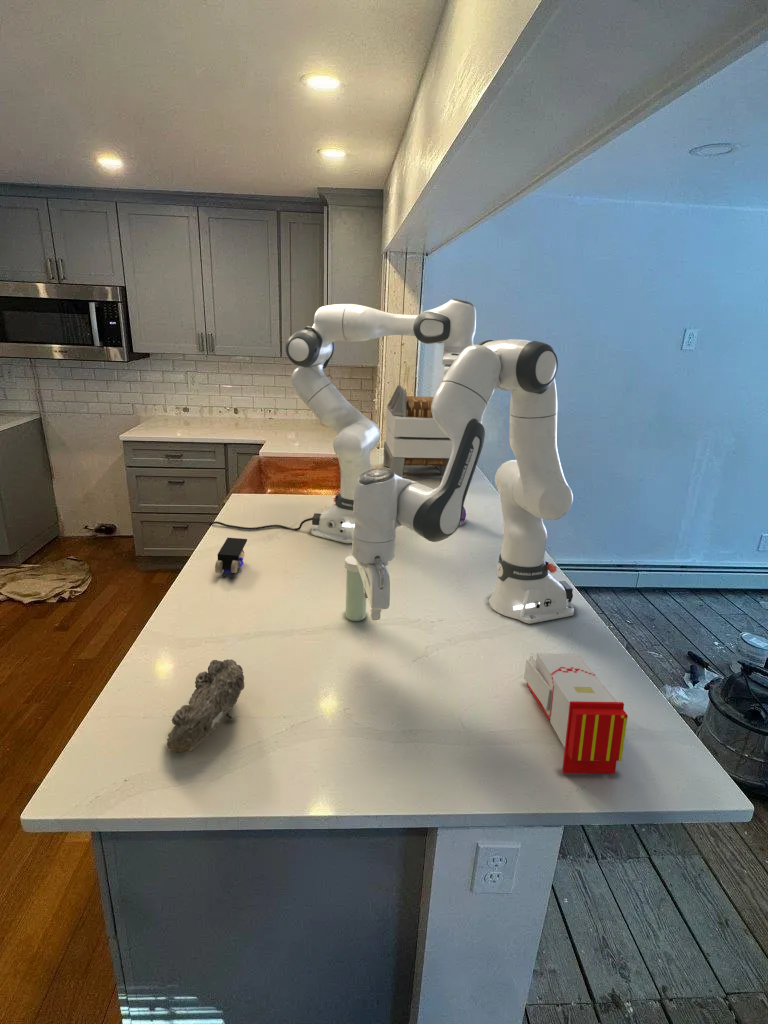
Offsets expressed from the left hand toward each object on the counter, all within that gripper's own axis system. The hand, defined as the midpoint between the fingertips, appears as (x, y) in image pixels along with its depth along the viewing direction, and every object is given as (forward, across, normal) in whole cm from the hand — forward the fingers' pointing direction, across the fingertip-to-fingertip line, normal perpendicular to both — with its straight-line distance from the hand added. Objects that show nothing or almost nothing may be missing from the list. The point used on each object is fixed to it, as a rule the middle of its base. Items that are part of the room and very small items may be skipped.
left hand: (454, 403), depth 174 cm
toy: (+48, +77, +38) cm, 98 cm away
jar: (+48, +53, -13) cm, 72 cm away
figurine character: (+48, +40, -55) cm, 84 cm away
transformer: (+48, -86, -27) cm, 102 cm away
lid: (+32, +53, -13) cm, 63 cm away
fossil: (+48, +98, -26) cm, 112 cm away
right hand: (+34, +72, -3) cm, 79 cm away
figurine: (+48, -24, 0) cm, 54 cm away
